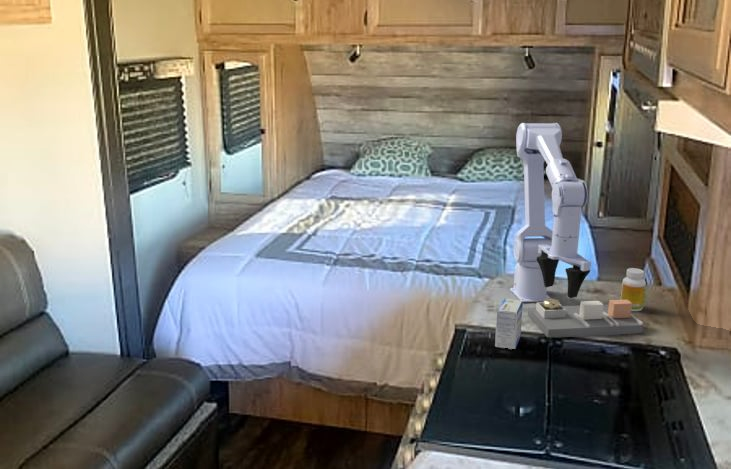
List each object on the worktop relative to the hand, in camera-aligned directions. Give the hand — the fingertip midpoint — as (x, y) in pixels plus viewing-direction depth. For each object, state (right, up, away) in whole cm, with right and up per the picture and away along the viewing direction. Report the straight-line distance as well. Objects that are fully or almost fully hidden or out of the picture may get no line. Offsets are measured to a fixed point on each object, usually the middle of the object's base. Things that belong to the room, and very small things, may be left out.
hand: (560, 291), depth 168 cm
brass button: (-1, -4, +5) cm, 6 cm away
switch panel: (+7, -8, +4) cm, 11 cm away
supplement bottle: (+21, -5, +15) cm, 26 cm away
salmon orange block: (+15, -6, +4) cm, 16 cm away
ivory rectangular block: (+8, -6, +3) cm, 10 cm away
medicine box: (-13, -11, -6) cm, 18 cm away
